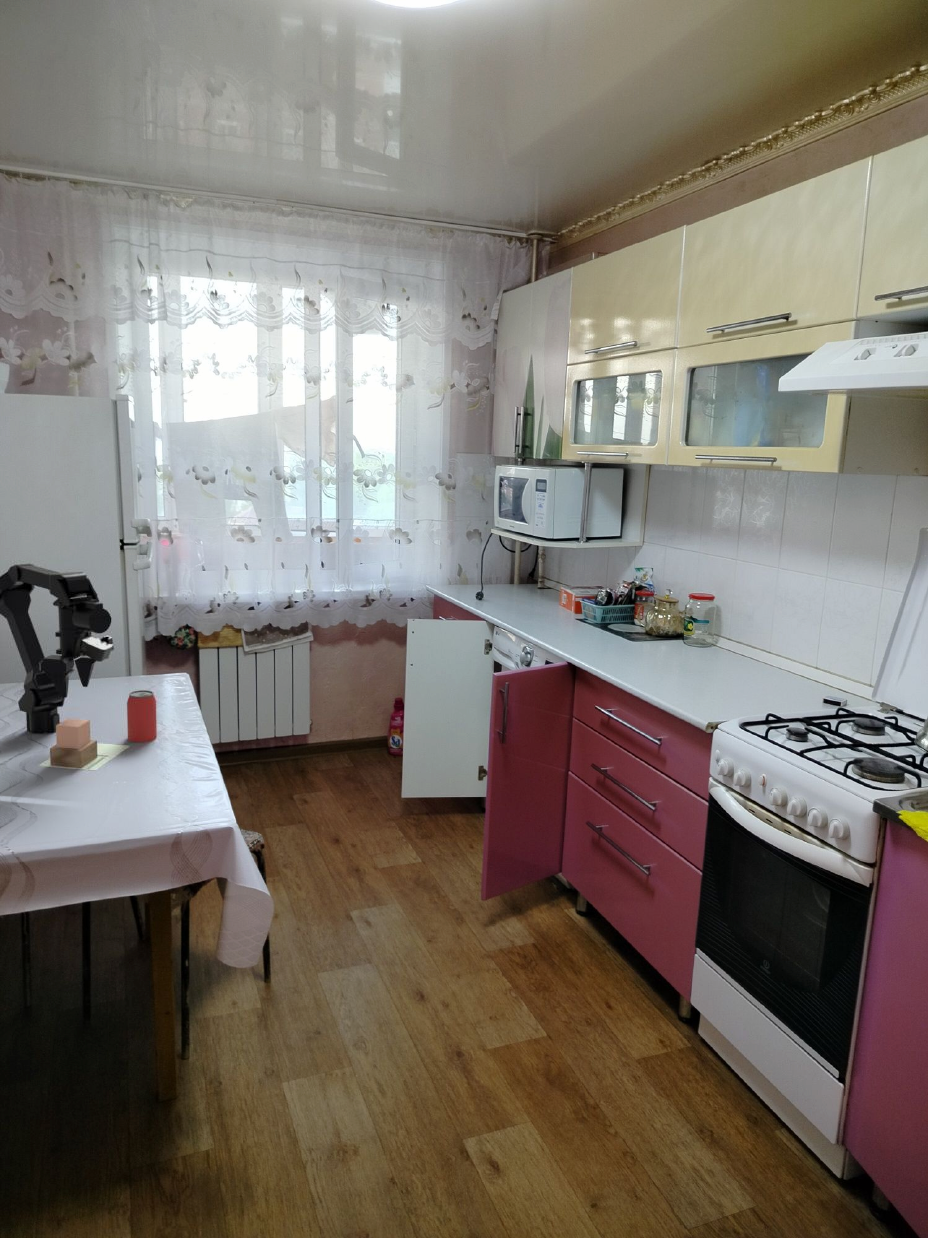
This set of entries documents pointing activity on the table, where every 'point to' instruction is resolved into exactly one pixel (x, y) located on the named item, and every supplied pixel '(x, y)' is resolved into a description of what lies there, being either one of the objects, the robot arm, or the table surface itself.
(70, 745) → the cube
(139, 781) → the table surface
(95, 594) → the robot arm
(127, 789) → the table surface
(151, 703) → the beer can
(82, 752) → the base block
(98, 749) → the cream mat
